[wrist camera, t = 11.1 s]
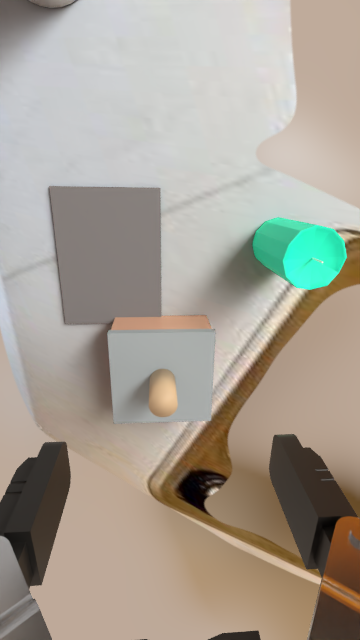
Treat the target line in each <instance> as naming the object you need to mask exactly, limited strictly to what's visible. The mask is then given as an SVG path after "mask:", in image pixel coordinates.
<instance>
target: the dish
mask: <svg viewBox="0 0 360 640" xmlns="http://www.w3.org/2000/svg"><path fill="white" fill-rule="evenodd" d="M154 329H212V328H211V326H210V323H209V321H208V318H207V316H206V315H193V316H161V317H115V319H114V322H113V325H112V328H111V330H154Z"/></svg>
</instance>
